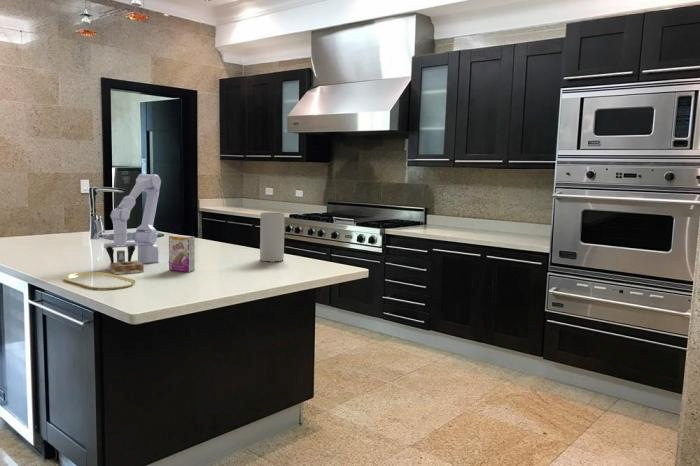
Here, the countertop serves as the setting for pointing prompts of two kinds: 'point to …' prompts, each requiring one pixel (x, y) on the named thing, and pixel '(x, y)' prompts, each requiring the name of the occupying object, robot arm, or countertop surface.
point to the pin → (121, 256)
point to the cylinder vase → (272, 236)
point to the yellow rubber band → (100, 274)
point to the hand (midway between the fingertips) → (120, 262)
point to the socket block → (126, 267)
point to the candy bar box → (181, 253)
